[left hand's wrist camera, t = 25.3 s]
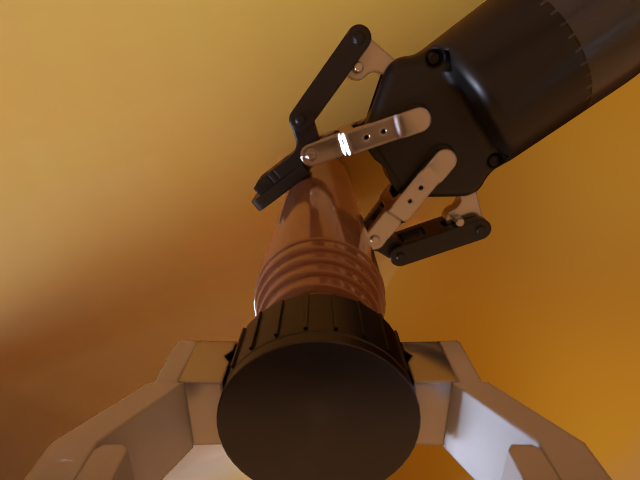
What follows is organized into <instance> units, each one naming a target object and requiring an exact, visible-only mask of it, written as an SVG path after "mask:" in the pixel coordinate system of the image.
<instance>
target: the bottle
mask: <svg viewBox="0 0 640 480" xmlns="http://www.w3.org/2000/svg"><path fill="white" fill-rule="evenodd" d="M306 293H309V294H336V295H338V296H343V297H346V298H349V299H353V300H355V301H358V300H359V301H361V303H362V304H364V305H366V306H367V307H369V308H371V309H372V310H374V311H375V312H376V313H378V314H379V313H380V314H382V316H383V318H384V313H385V288H384V283H383V279H382V276H381V273H380V270H379V267H378V264H377V261H376V257H375V254H374V251H373V248H372V245H371V242H370V239H369V236H368V232H367V229H366V226H365V223H364V220H363V217H362V214H361V211H360V208H359V204H358V201H357V198H356V195H355V192H354V189H353V186H352V183H351V180H350V176H349V174H348V171H347V170H346V168H345V167H344V165H343V164H342V163H341V162H340V161H338V160H337V159H334V160H331V161H328V162H325V163H322V164H319V165H316V166H313V167H312V168H311V170H310V175H308V176H307V177H306V178H304V179H303V180H302V181H300V182H298V183H297V184H296V185H294V186H293V187H292V188H291V189H289V190H288V191H287V192H286V194H285V197H284V200H283V203H282V206H281V209H280V212H279V215H278V218H277V221H276V224H275V226H274V229H273V232H272V235H271V238H270V241H269V244H268V247H267V250H266V253H265V256H264V259H263V262H262V265H261V268H260V271H259V274H258V277H257V280H256V284H255V291H254V312H255V317H256V316H257V315H258V312H260V311H261V312H263V311H264V310H265V309H267V308H269V307H270V306H272V305H274V304H276V303H278V302H280V300H282V299H283V300H285V299H288V298H292V297H295V296H300V295H305V294H306Z"/></svg>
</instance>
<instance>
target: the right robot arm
mask: <svg viewBox="0 0 640 480" xmlns="http://www.w3.org/2000/svg"><path fill="white" fill-rule="evenodd" d="M371 72H375V73H378V74H380V78H379V81H378V84H377V87H376V90H375V93H374V96H373V99H372V102H371V105H370V108H369V111H368V114H367V117H366V118H364V119H362V120H359V121H356V122H353V123H350V124H347V125H345V126H342V127H340V128H338V129H336V130H333V131H330V132H327V133H324V134H322V135H319V134H318V131H317V127H316V124H315V119H316V118H317V117H318V115H319V114H320V113H321V111H322V110H323V108H324V107H325V106H326V104H327V103H328V102H329V100H330V99H331V97H332V96H333V95H334V93H335V92H336V91H337V89H338V88H339V86H340V85H341V84H342V82H343V81H344V80H345V78H346V77H348V78H349V79H351V80H354V81H357V80H361V79H363V78H364V77H365V76H366V75H367V74H369V73H371ZM639 73H640V0H486V1H485V2H484V3H482V4H481V5H480V6H479V7H477V8H476V9H475V10H473V11H472V12H471V13H470V14H468V15H467V16H466V17H464V18H463V19H462V20H460V21H459V22H458V23H457V24H455V25H454V26H453V27H451V28H450V29H449V30H447V31H446V32H445V33H444V34H442V35H441V36H440V37H438V38H437V39H436V40H434V41H433V42H432V43H430V44H429V45H428V46H427V47H425V48H424V49H423V50H421V51H420V52H418V53H417V54H414V55H411V56H404V57H400V58H397V59H393V58H392V57H391V56H390V55H389V54H388V53H387V52H385V51H384V50H383V49H382V48H381V47H380V46H379V45H377V44H376V43H375V42H374V41H373V40H372V39H371V33H370V31H369V29H368V28H367V27H366V26H364V25H360V24H358V25H355V26H353V27H351V28H350V30H349V31H348V32H347V34H346V35H345V37H344V38H343V40H342V41H341V42H340V44H339V45H338V47H337V48H336V50H335V51H334V52H333V54H332V55H331V57H330V58H329V59H328V61H327V62H326V64H325V65H324V67H323V68H322V69H321V71H320V72H319V74H318V75H317V77H316V78H315V79H314V81H313V82H312V84H311V85H310V87H309V88H308V89H307V91H306V92H305V94H304V95H303V97H302V98H301V99H300V101H299V102H298V104H297V105H296V106H295V108H294V109H293V111H292V112H291V114H290V117H289V122H290V125H291V127H292V129H293V132H294V135H295V138H296V143H297V144H296V149H295V150H294V151H293V152H292V153H290V154H289V155H288V156H286V157H285V158H284V159H283V160H281V161H280V162H279V163H277V164H276V165H275V166H273V167H272V168H271V169H270V170H268V171H267V172H266V173H264V174H263V175H262V176H261V177H260V179H259V180H258V182H257V184H256V185H255V187H254V190H255V191H256V192H257V194H256V195H255V196H254V198H253V200H252V201H251V202H252V203H253V204H254V206H255V207H256V208H257V209H258V210H259V211H261V210H262V209H264V208H265V207H267V206H268V205H269V204H271V203H272V202H273V201H275V200H276V199H277V198H279V197H280V196H281V195H283V194H284V193H285V192H287V191H288V190H289V189H291V188H292V187H293V186H294V185H296V184H297V183H298V182H300V181H302V180H303V179H304V178H306V177H307V176H308V175H310V170H311V168H312V167H313V166H316V165H319V164H322V163H325V162H328V161H331V160H334V159H337V158H339V157H342V156H348V155H353V154H356V153H359V152H362V151H365V150H368V151H369V152H370V154H371V155H372V156H373V158H374V159H375V160H376V161H378V162H379V163H380V164H381V165H382V167H383V170H384V173H385V175H386V177H387V178H388V180H389V181H390V183H389V185H388V186H387V187H386V188H385V190H384V191H383V192H382V194H381V196H380V198H379V201H378V202H377V203H376V205H375V206H374V207H373V208H372V210H371V211H370V212H369V213H368V215H367V216H366V217H365V219H364V223H365V226H366V229H367V232H368V236H369V239H370V242H371V245H372V248H373V251H378V252H380V253H382V254H383V255H385V256H386V257H388V258H390V260H391V262H392V263H393V264H394V265H396V266H403V265H406V264H409V263H412V262H415V261H418V260H421V259H424V258H427V257H430V256H433V255H436V254H439V253H442V252H445V251H448V250H451V249H454V248H457V247H460V246H463V245H466V244H469V243H472V242H475V241H478V240H481V239H484V238H486V237H487V236H488V235H489V234H490V232H491V225H490V223H489V222H488V221H486V220H485V218H484V217H483V216H482V213H481V209H480V205H479V201H478V197H477V193H476V191H477V190H478V189H479V188H480V187H481V186H482V184H483V182H484V181H485V179H486V178H487V176H488V175H489V174H490V173H491V172H492V171H493V170H494V169H495V168H497V167H499V166H501V165H502V164H504V163H506V162H508V161H510V160H511V159H513V158H514V157H516V156H517V155H519V154H520V153H522V152H523V151H525V150H526V149H528V148H529V147H531V146H532V145H534V144H535V143H537V142H538V141H540V140H541V139H543V138H544V137H546V136H547V135H549V134H550V133H552V132H553V131H555V130H556V129H558V128H559V127H561V126H562V125H564V124H566V123H567V122H568V121H570V120H572V119H573V118H574V117H576V116H578V115H579V114H581V113H582V112H583V111H585V110H586V109H588V108H589V107H591V106H592V105H594V104H595V103H597V102H598V101H600V100H601V99H603V98H604V97H606V96H607V95H609V94H610V93H612V92H613V91H615V90H616V89H618V88H619V87H621V86H622V85H624V84H625V83H627V82H628V81H629V80H631V79H632V78H634V77H635V76H636V75H638V74H639ZM451 196H456V198H455V200H454V202H453V203H452V204H451V205H449V206H447V207H446V208H445V209H444V210H443V212H442V216H441V217H438V218H435V219H432V220H429V221H426V222H423V223H420V224H418V225H415V226H412V227H409V228H406V229H403V230H400V231H397V232H394V231H395V230H396V229H397V228H398V227H399V225H400V224H402V223H404V222H406V221H407V220H408V219H409V218H410V217H411V216H412V215H413V213H414V212H415V211H416V210H417V209H418V207H419V206H420V205H421V204H422V203H423V201H424V200H425V199H426V198H427V197H451ZM409 199H410V200H409ZM408 200H409V201H408Z"/></svg>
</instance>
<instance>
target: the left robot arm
mask: <svg viewBox="0 0 640 480" xmlns="http://www.w3.org/2000/svg"><path fill="white" fill-rule="evenodd" d="M400 343H401V346H402V349H403V352H404V355H405V359H406V362H407V363H408V368H409V374H410V377H411V380H412V383H413V387H414V390H415V393H416V396H417V399H418V403H419V406H420V414H421V425H420V431H419V436H418V439H417V442H416V444H426V445H444V448H445V449H446V450H447V451H448V452H449V453H450V454H451V455H452V456H453V457H454V458H455V459H456V460H457V461H458V462H459V463H460V465H461V466H462V467H463V468H464V469H465V470H466V471H467V472H468V473H469V474H470V475H471V476H472V477H473V478H474V479H475V480H612V479H611V478H610V476H609V475H608V474H607V472H606V471H605V470H604V468H603V467H602V466H601V464H600V463H599V462H598V460H597V459H596V457H595V456H594V455H593V453H592V452H591V451H590V449H589V448H588V447H587V445H586V444H585V443H584V442H582V441H581V440H579V439H577V438H576V437H574V436H573V435H571V434H569V433H568V432H566V431H565V430H563V429H561V428H560V427H558V426H557V425H555V424H554V423H552V422H550V421H549V420H547V419H546V418H544V417H542V416H541V415H539V414H538V413H536V412H534V411H533V410H531V409H530V408H528V407H527V406H525V405H523V404H522V403H520V402H519V401H517V400H515V399H514V398H512V397H511V396H509V395H507V394H506V393H504V392H503V391H501V390H500V389H498V388H496V387H495V386H493V385H492V384H490V383H488V382H482V381H481V379H480V377H479V376H478V374H477V372H476V370H475V368H474V367H473V365H472V363H471V361H470V360H469V358H468V356H467V354H466V352H465V351H464V349H463V347H462V345H461V343H460V342H458V341H438V342H400ZM237 344H238V342H228V341H179V342H177V343H176V345H175V346H174V348H173V350H172V352H171V353H170V355H169V357H168V359H167V360H166V362H165V364H164V366H163V368H162V369H161V371H160V373H159V375H158V376H157V378H156V380H155V382H148V383H146V384H145V385H143V386H142V387H140V388H138V389H137V390H135V391H134V392H132V393H130V394H129V395H127V396H126V397H124V398H122V399H121V400H119V401H117V402H116V403H114V404H113V405H111V406H109V407H108V408H106V409H105V410H103V411H101V412H100V413H98V414H97V415H95V416H93V417H92V418H90V419H89V420H87V421H85V422H84V423H82V424H80V425H79V426H77V427H76V428H74V429H72V430H71V431H69V432H68V433H66V434H64V435H63V436H61V437H60V438H58V439H56V440H55V441H53V442H52V443H51V444H50V445H49V446H48V448H47V449H46V450H45V452H44V453H43V454H42V456H41V457H40V458H39V460H38V461H37V462H36V464H35V465H34V466H33V467H32V469H31V470H30V471H29V473H28V474H27V475H26V477H25V478H24V479H23V480H162V479H163V478H164V477H165V476H166V475H167V474H168V473H169V472H170V471H171V470H172V468H173V467H174V466H175V465H176V464H177V463H178V462H179V461H180V460H181V459H182V458H183V457H184V456H185V455H186V454H187V453H188V452H189V451H190V450H191V449H192V448H193V445H210V444H221V441H220V438H219V435H218V429H217V416H216V415H217V408H218V403H219V400H220V397H221V394H222V391H223V388H224V384H225V381H226V378H227V375H228V372H229V369H230V367H229V360H230V358H232V357H233V356H234V353H235V350H236V347H237Z"/></svg>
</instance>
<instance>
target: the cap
mask: <svg viewBox="0 0 640 480" xmlns="http://www.w3.org/2000/svg"><path fill="white" fill-rule="evenodd" d="M229 367H230V369H229V372H228V375H227V378H226V381H225V384H224V388H223V391H222V394H221V397H220V400H219V403H218V408H217V415H216V416H217V429H218V435H219V438H220V441H221V444H222V446H223V448H224V450H225V452H226V453H227V455H228V457H229V458H230V459H231V461H232V462H233V463H234V464H235V465H236V466H237V467H238V468H239V469H240V470H241V471H242V472H243V473H244V474H245V475H247V476H248V477H249V478H251V479H252V480H385V479H387V478H388V477H389V476H390V475H392V474H393V473H394V472H396V471H397V470H398V469H399V468H400V467H401V466H402V465H403V463H404V462H405V461H406V460H407V458H408V457H409V456H410V454H411V452H412V450H413V449H414V447H415V444H416V442H417V439H418V436H419V431H420V425H421V414H420V406H419V403H418V399H417V396H416V393H415V390H414V387H413V383H412V380H411V377H410V374H409V368H408V363H407V362H406V359H405V355H404V352H403V349H402V346H401V343H400V340H399V336H398V333H397V331H396V330H395V331H393V329H392V328H391V326H390V325H389V324H388V323H387V322H386V321H385V320H384V319H383V316H382V314H380V313H379V314H378V313H376V312H375V311H374V310H372V309H371V308H369V307H367V306H366V305H364V304H362V303H361V301H359V300H358V301H355V300H353V299H349V298H346V297H343V296H338V295H336V294H309V293H306V294H305V295H300V296H295V297H292V298H288V299H285V300H283V299H282V300H280V302H278V303H276V304H274V305H272V306H270V307H269V308H267V309H265V310H264V311H263V312H261V311H260V312H258V315H257V316H256V317H255V318H254V319H253V320H252V321H251V322H250V323H249V324H248V326H247V327H246V328H243V329H242V332H241V335H240V338H239V341H238V344H237V347H236V350H235V353H234V356H233V357H232V358H230V360H229Z"/></svg>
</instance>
